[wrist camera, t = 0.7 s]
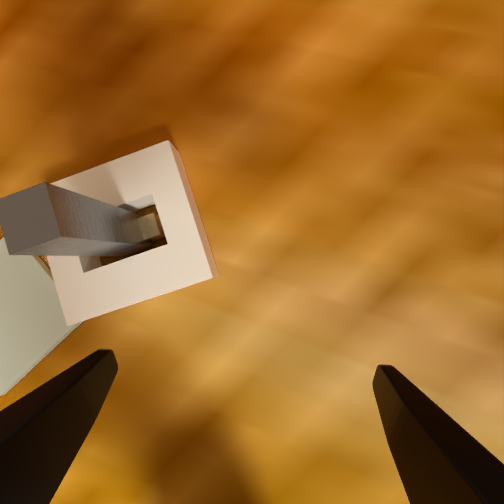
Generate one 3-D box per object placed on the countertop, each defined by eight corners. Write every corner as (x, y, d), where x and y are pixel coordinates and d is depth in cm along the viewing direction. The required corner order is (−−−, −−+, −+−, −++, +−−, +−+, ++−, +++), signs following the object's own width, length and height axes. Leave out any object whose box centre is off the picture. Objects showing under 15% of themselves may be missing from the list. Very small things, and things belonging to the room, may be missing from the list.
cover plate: (219, 275, 22) (213, 277, 19) (89, 318, 22) (67, 326, 20) (179, 153, 22) (168, 139, 20) (53, 198, 23) (27, 191, 20)
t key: (168, 241, 22) (87, 227, 12) (109, 261, 22) (-17, 264, 12) (159, 210, 22) (71, 172, 12) (100, 231, 23) (-32, 210, 13)
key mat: (88, 316, 22) (83, 317, 22) (6, 392, 23) (-1, 396, 22) (17, 230, 23) (10, 229, 22) (-62, 306, 23) (-71, 307, 23)
